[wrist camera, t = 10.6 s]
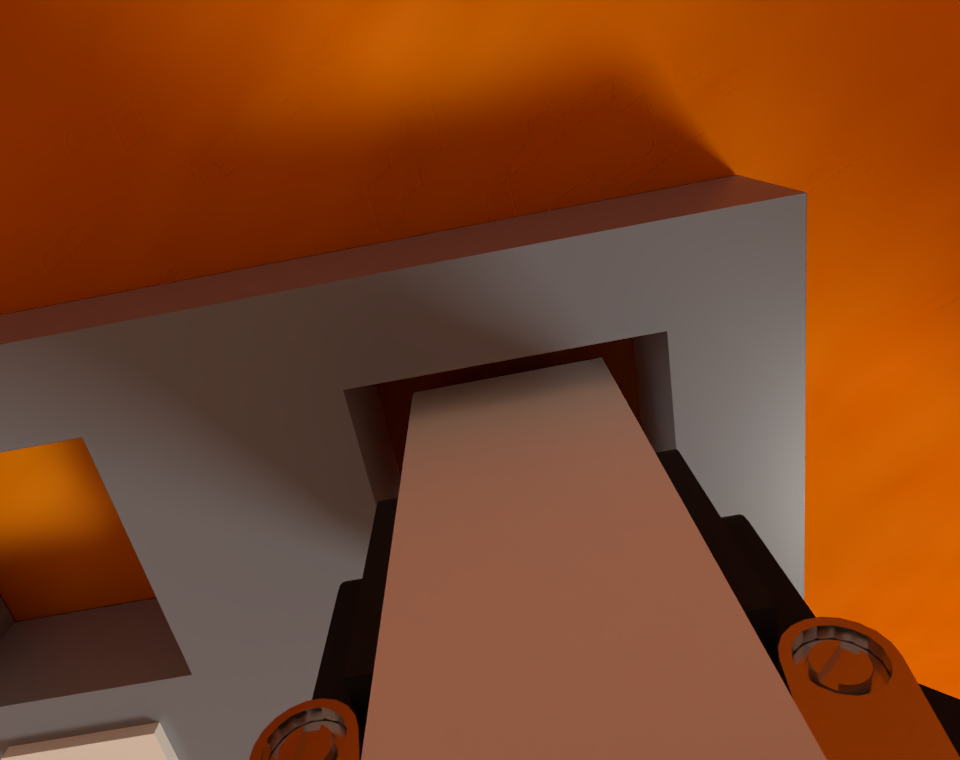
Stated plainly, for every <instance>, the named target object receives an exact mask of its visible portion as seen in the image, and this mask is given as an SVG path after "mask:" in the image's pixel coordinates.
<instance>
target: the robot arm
mask: <svg viewBox="0 0 960 760" xmlns="http://www.w3.org/2000/svg"><path fill="white" fill-rule="evenodd" d="M656 455H657V457H658V459H659V460H660V462H661V464H662V466H663V468H664V469H665V471H666V473H667V475H668V477H669V478H670V480H671V482H672V484H673V485H674V487H675V489H676V491H677V493H678V494H679V496H680V498H681V500H682V502H683V503H684V505H685V507H686V509H687V510H688V512H689V514H690V516H691V518H692V519H693V521H694V523H695V525H696V527H697V528H698V530H699V532H700V534H701V536H702V537H703V539H704V541H705V543H706V544H707V546H708V548H709V550H710V552H711V553H712V555H713V557H714V559H715V561H716V562H717V564H718V566H719V568H720V570H721V571H722V573H723V575H724V577H725V578H726V580H727V582H728V584H729V586H730V587H731V589H732V591H733V593H734V595H735V596H736V598H737V600H738V602H739V603H740V605H741V607H742V609H743V611H744V612H745V614H746V616H747V618H748V620H749V621H750V623H751V625H752V627H753V629H754V630H755V632H756V634H757V636H758V637H759V639H760V641H761V643H762V645H763V646H764V648H765V650H766V652H767V654H768V655H769V657H770V659H771V661H772V663H773V664H774V666H775V668H776V670H777V671H778V673H779V675H780V677H781V679H782V680H783V682H784V684H785V686H786V688H787V689H788V691H789V693H790V695H791V696H792V698H793V700H794V702H795V704H796V705H797V707H798V709H799V711H800V713H801V714H802V716H803V718H804V720H805V722H806V723H807V725H808V727H809V729H810V730H811V732H812V734H813V736H814V738H815V739H816V741H817V743H818V745H819V747H820V748H821V750H822V752H823V754H824V755H825V757H826V759H827V760H960V700H959V699H957V698H954V697H952V696H949V695H947V694H944V693H941V692H939V691H936V690H934V689H931V688H929V687H926V686H923V685H921V684H918V683H917V681H916V679H915V677H914V676H913V674H912V672H911V670H910V669H909V667H908V665H907V663H906V661H905V660H904V658H903V656H902V655H901V654H900V652H899V651H898V650H897V649H896V647H895V646H894V645H893V644H892V642H890V641H889V640H888V639H886V638H885V637H884V636H882V635H881V634H880V633H878V632H877V631H875V630H873V629H871V628H869V627H866V626H864V625H862V624H860V623H857V622H853V621H850V620H846V619H842V618H832V617H817V618H816V617H815V616H814V614H813V613H812V611H811V610H810V609H809V607H808V606H807V604H806V603H805V601H804V600H803V598H802V597H801V596H800V594H799V593H798V591H797V590H796V588H795V587H794V586H793V584H792V583H791V581H790V580H789V578H788V577H787V575H786V574H785V573H784V571H783V570H782V568H781V567H780V565H779V564H778V563H777V561H776V560H775V558H774V557H773V555H772V554H771V552H770V551H769V550H768V548H767V547H766V545H765V544H764V542H763V541H762V540H761V538H760V537H759V535H758V534H757V532H756V531H755V529H754V528H753V527H752V525H751V524H750V522H749V521H748V520H747V519H746V518H745V516H743V515H741V514H738V515H732V516H726V517H720V515H719V513H718V512H717V510H716V509H715V507H714V506H713V504H712V502H711V501H710V499H709V498H708V496H707V495H706V493H705V491H704V490H703V488H702V487H701V485H700V484H699V482H698V480H697V479H696V477H695V476H694V474H693V473H692V471H691V469H690V468H689V466H688V465H687V463H686V461H685V460H684V458H683V457H682V455H681V454H680V452H679V451H678V450H677V449H673V450H667V451H662V452H656ZM397 502H398V498H393V499H387V500H381V501H378V503H377V506H376V511H375V517H374V522H373V527H372V532H371V537H370V542H369V547H368V552H367V557H366V562H365V567H364V572H363V577H362V579H356V580H350V581H344V582H343V583H342V584H341V585H340V587H339V590H338V594H337V598H336V602H335V606H334V610H333V614H332V618H331V623H330V627H329V631H328V635H327V639H326V643H325V647H324V651H323V656H322V660H321V664H320V668H319V672H318V676H317V680H316V685H315V689H314V693H313V697H312V700H309V701H305V702H303V703H300V704H298V705H296V706H293V707H291V708H289V709H288V710H286V711H285V712H283V713H282V714H280V715H279V716H277V717H276V718H275V719H274V720H273V721H272V722H271V723H270V724H269V725H268V726H267V727H266V728H265V729H264V730H263V731H262V733H261V734H260V736H259V738H258V739H257V741H256V742H255V744H254V746H253V749H252V752H251V755H250V758H249V760H361V756H362V749H363V742H364V735H365V728H366V721H367V714H368V707H369V700H370V693H371V686H372V679H373V672H374V665H375V657H376V650H377V643H378V636H379V629H380V622H381V615H382V608H383V601H384V594H385V587H386V580H387V573H388V566H389V559H390V552H391V545H392V538H393V531H394V524H395V516H396V509H397Z"/></svg>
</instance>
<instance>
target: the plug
mask: <svg viewBox="0 0 960 760" xmlns="http://www.w3.org/2000/svg"><path fill="white" fill-rule="evenodd" d="M361 760H827V759H826V757H825V755H824V754H823V752H822V750H821V748H820V747H819V745H818V743H817V741H816V739H815V738H814V736H813V734H812V732H811V730H810V729H809V727H808V725H807V723H806V722H805V720H804V718H803V716H802V714H801V713H800V711H799V709H798V707H797V705H796V704H795V702H794V700H793V698H792V696H791V695H790V693H789V691H788V689H787V688H786V686H785V684H784V682H783V680H782V679H781V677H780V675H779V673H778V671H777V670H776V668H775V666H774V664H773V663H772V661H771V659H770V657H769V655H768V654H767V652H766V650H765V648H764V646H763V645H762V643H761V641H760V639H759V637H758V636H757V634H756V632H755V630H754V629H753V627H752V625H751V623H750V621H749V620H748V618H747V616H746V614H745V612H744V611H743V609H742V607H741V605H740V603H739V602H738V600H737V598H736V596H735V595H734V593H733V591H732V589H731V587H730V586H729V584H728V582H727V580H726V578H725V577H724V575H723V573H722V571H721V570H720V568H719V566H718V564H717V562H716V561H715V559H714V557H713V555H712V553H711V552H710V550H709V548H708V546H707V544H706V543H705V541H704V539H703V537H702V536H701V534H700V532H699V530H698V528H697V527H696V525H695V523H694V521H693V519H692V518H691V516H690V514H689V512H688V510H687V509H686V507H685V505H684V503H683V502H682V500H681V498H680V496H679V494H678V493H677V491H676V489H675V487H674V485H673V484H672V482H671V480H670V478H669V477H668V475H667V473H666V471H665V469H664V468H663V466H662V464H661V462H660V460H659V459H658V457H657V455H656V453H655V451H654V450H653V448H652V446H651V444H650V443H649V441H648V439H647V437H646V435H645V434H644V432H643V430H642V428H641V426H640V425H639V423H638V421H637V419H636V418H635V416H634V414H633V412H632V410H631V409H630V407H629V405H628V403H627V401H626V400H625V398H624V396H623V394H622V392H621V391H620V389H619V387H618V385H617V384H616V382H615V380H614V378H613V376H612V375H611V373H610V371H609V369H608V367H607V366H606V364H605V362H604V360H603V358H602V357H601V358H596V359H591V360H585V361H580V362H575V363H569V364H564V365H558V366H553V367H548V368H542V369H537V370H532V371H526V372H521V373H516V374H510V375H505V376H500V377H494V378H489V379H484V380H478V381H473V382H468V383H462V384H457V385H452V386H446V387H441V388H436V389H430V390H425V391H420V392H414V393H413V397H412V404H411V411H410V418H409V425H408V432H407V439H406V446H405V453H404V460H403V467H402V474H401V481H400V488H399V495H398V502H397V509H396V516H395V524H394V531H393V538H392V545H391V552H390V559H389V566H388V573H387V580H386V587H385V594H384V601H383V608H382V615H381V622H380V629H379V636H378V643H377V650H376V657H375V665H374V672H373V679H372V686H371V693H370V700H369V707H368V714H367V721H366V728H365V735H364V742H363V749H362V756H361Z"/></svg>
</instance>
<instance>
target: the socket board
mask: <svg viewBox="0 0 960 760" xmlns="http://www.w3.org/2000/svg"><path fill="white" fill-rule="evenodd" d="M806 205H807V193H806V192H802V191H798V190H794V189H790V188H786V187H782V186H778V185H775V184H771V183H767V182H763V181H759V180H755V179H751V178H747V177H743V176H739V175H735V176H730V177H724V178H719V179H714V180H709V181H703V182H698V183H693V184H688V185H682V186H677V187H672V188H667V189H661V190H656V191H651V192H645V193H640V194H635V195H630V196H624V197H619V198H614V199H609V200H603V201H598V202H593V203H588V204H582V205H577V206H572V207H567V208H561V209H556V210H551V211H546V212H540V213H535V214H530V215H525V216H519V217H514V218H509V219H504V220H498V221H493V222H488V223H483V224H477V225H472V226H467V227H462V228H456V229H451V230H446V231H440V232H435V233H430V234H425V235H419V236H414V237H409V238H404V239H398V240H393V241H388V242H383V243H377V244H372V245H367V246H362V247H356V248H351V249H346V250H341V251H335V252H330V253H325V254H320V255H314V256H309V257H304V258H299V259H293V260H288V261H283V262H278V263H272V264H267V265H262V266H257V267H251V268H246V269H241V270H235V271H230V272H225V273H220V274H214V275H209V276H204V277H199V278H193V279H188V280H183V281H178V282H172V283H167V284H162V285H157V286H151V287H146V288H141V289H136V290H130V291H125V292H120V293H115V294H109V295H104V296H99V297H94V298H88V299H83V300H78V301H73V302H67V303H62V304H57V305H52V306H46V307H41V308H36V309H30V310H25V311H20V312H15V313H9V314H4V315H0V452H5V451H11V450H16V449H22V448H27V447H33V446H38V445H44V444H49V443H55V442H60V441H66V440H71V439H77V438H83V440H84V442H85V444H86V447H87V449H88V451H89V453H90V455H91V457H92V460H93V462H94V464H95V466H96V468H97V470H98V472H99V475H100V477H101V479H102V481H103V483H104V485H105V488H106V490H107V492H108V494H109V496H110V498H111V501H112V503H113V505H114V507H115V509H116V511H117V513H118V516H119V518H120V520H121V522H122V524H123V526H124V529H125V531H126V533H127V535H128V537H129V539H130V542H131V544H132V546H133V548H134V550H135V552H136V554H137V557H138V559H139V561H140V563H141V565H142V567H143V570H144V572H145V574H146V576H147V578H148V580H149V583H150V585H151V587H152V589H153V591H154V593H155V596H156V598H154V599H148V600H142V601H137V602H131V603H125V604H119V605H113V606H107V607H102V608H96V609H90V610H84V611H78V612H72V613H67V614H61V615H55V616H49V617H43V618H37V619H32V620H26V621H20V622H15V621H14V619H13V618H12V616H11V614H10V612H9V611H8V609H7V607H6V605H5V604H4V602H3V600H2V599H1V597H0V760H249V758H250V755H251V752H252V749H253V746H254V744H255V742H256V741H257V739H258V738H259V736H260V734H261V733H262V731H263V730H264V729H265V728H266V727H267V726H268V725H269V724H270V723H271V722H272V721H273V720H274V719H275V718H276V717H277V716H279V715H280V714H282V713H283V712H285V711H286V710H288V709H289V708H291V707H293V706H296V705H298V704H300V703H303V702H305V701H309V700H312V697H313V693H314V689H315V685H316V680H317V676H318V672H319V668H320V664H321V660H322V656H323V651H324V647H325V643H326V639H327V635H328V631H329V627H330V623H331V618H332V614H333V610H334V606H335V602H336V598H337V594H338V590H339V587H340V585H341V584H342V583H343V582H344V581H350V580H356V579H362V577H363V572H364V567H365V562H366V557H367V552H368V547H369V542H370V537H371V532H372V527H373V522H374V517H375V511H376V506H377V503H378V501H381V500H387V499H393V498H398V495H399V488H400V481H401V476H400V473H399V469H398V465H397V461H396V457H395V454H394V450H393V446H392V442H391V438H390V435H389V431H388V427H387V423H386V419H385V416H384V412H383V408H382V404H381V400H380V397H379V393H378V389H377V385H376V384H379V383H384V382H390V381H395V380H401V379H406V378H412V377H417V376H423V375H428V374H434V373H439V372H445V371H450V370H456V369H461V368H467V367H472V366H478V365H483V364H489V363H494V362H500V361H505V360H511V359H516V358H522V357H527V356H533V355H538V354H544V353H549V352H555V351H560V350H566V349H571V348H577V347H582V346H588V345H593V344H599V343H604V342H610V341H615V340H621V339H626V338H632V337H633V345H634V355H635V365H636V375H637V386H638V396H639V406H640V416H641V426H642V430H643V432H644V434H645V435H646V437H647V439H648V441H649V443H650V444H651V446H652V448H653V450H654V451H655V453H656V452H662V451H667V450H673V449H677V450H678V451H679V452H680V454H681V455H682V457H683V458H684V460H685V461H686V463H687V465H688V466H689V468H690V469H691V471H692V473H693V474H694V476H695V477H696V479H697V480H698V482H699V484H700V485H701V487H702V488H703V490H704V491H705V493H706V495H707V496H708V498H709V499H710V501H711V502H712V504H713V506H714V507H715V509H716V510H717V512H718V513H719V515H720V517H726V516H732V515H738V514H741V515H743V516H745V518H746V519H747V520H748V521H749V522H750V524H751V525H752V527H753V528H754V529H755V531H756V532H757V534H758V535H759V537H760V538H761V540H762V541H763V542H764V544H765V545H766V547H767V548H768V550H769V551H770V552H771V554H772V555H773V557H774V558H775V560H776V561H777V563H778V564H779V565H780V567H781V568H782V570H783V571H784V573H785V574H786V575H787V577H788V578H789V580H790V581H791V583H792V584H793V586H794V587H795V588H796V590H797V591H798V593H799V594H800V596H801V597H802V598H803V600H804V530H805V367H806Z"/></svg>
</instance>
